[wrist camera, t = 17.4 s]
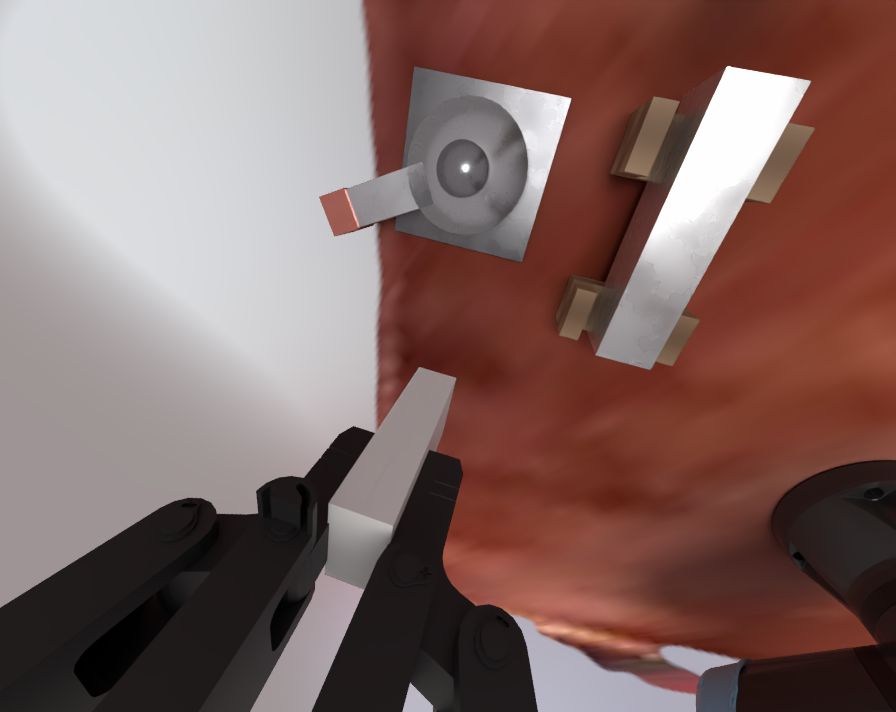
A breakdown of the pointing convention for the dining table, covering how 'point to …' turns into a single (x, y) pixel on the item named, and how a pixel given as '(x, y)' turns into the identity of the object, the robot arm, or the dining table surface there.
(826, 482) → the robot arm
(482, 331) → the dining table surface
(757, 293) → the dining table surface
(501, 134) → the silver lever handle
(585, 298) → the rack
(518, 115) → the base
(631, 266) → the steel bar
